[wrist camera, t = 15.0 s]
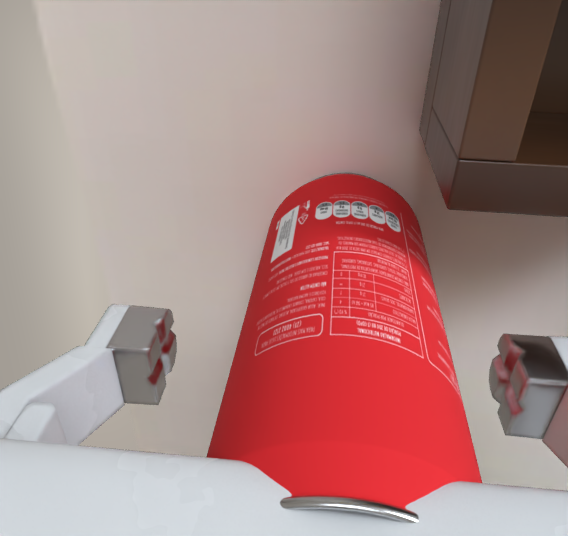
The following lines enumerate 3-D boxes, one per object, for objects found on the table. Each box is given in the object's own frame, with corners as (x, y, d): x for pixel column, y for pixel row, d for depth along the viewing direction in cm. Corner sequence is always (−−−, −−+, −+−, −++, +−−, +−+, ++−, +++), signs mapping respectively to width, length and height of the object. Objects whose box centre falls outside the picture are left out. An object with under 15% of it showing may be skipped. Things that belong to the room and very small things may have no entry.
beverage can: (447, 202, 17) (586, 575, 7) (370, 308, 20) (391, 682, 10) (310, 135, 16) (250, 448, 6) (249, 254, 19) (142, 602, 9)
